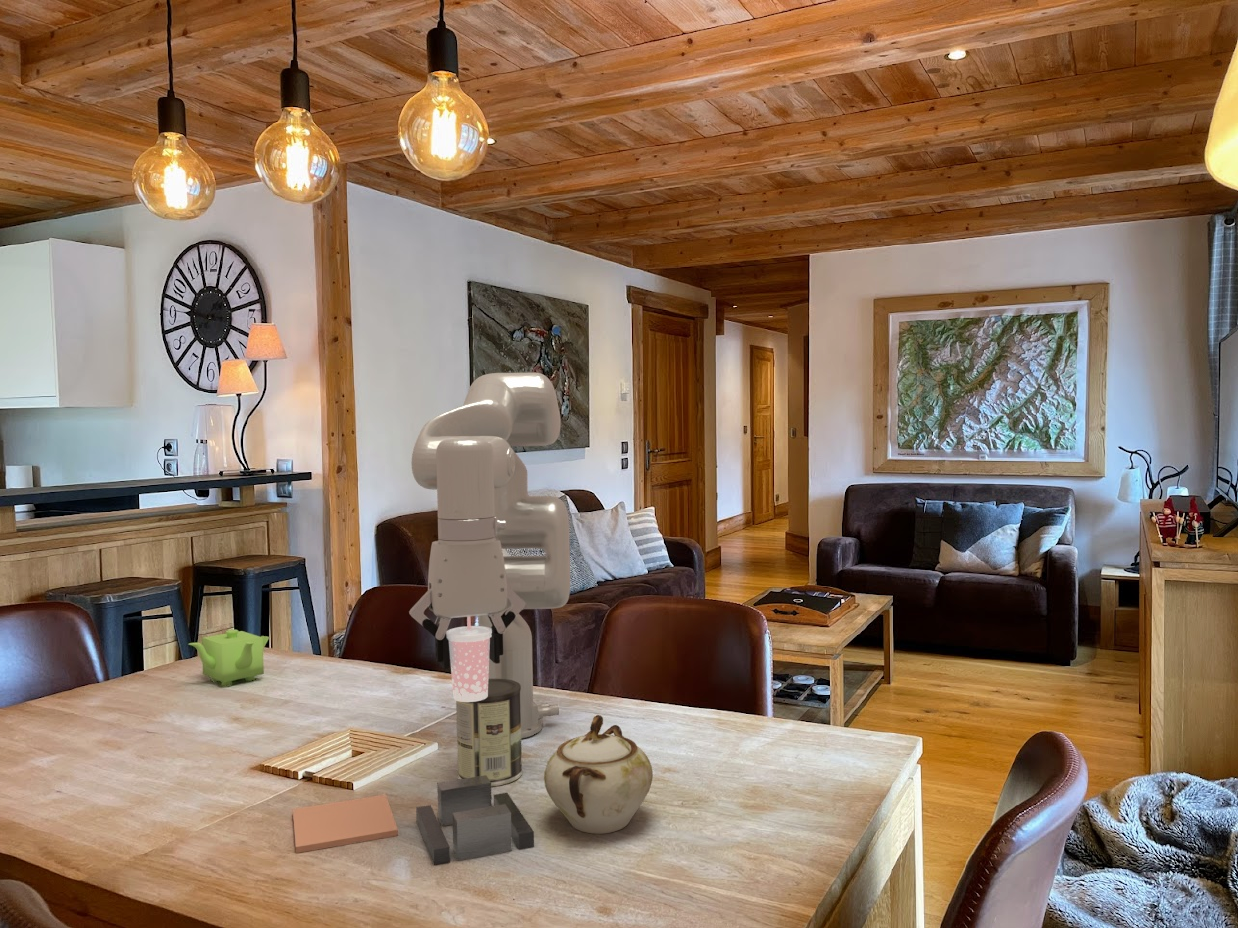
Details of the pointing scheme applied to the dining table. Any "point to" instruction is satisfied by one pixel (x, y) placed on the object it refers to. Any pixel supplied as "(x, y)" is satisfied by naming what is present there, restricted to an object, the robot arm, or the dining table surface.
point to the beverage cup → (469, 661)
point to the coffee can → (491, 734)
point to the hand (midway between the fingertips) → (469, 662)
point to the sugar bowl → (598, 779)
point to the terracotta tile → (343, 823)
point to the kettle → (232, 656)
